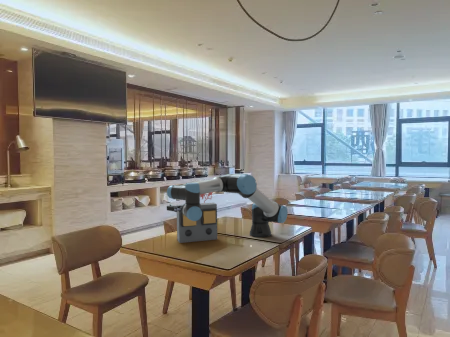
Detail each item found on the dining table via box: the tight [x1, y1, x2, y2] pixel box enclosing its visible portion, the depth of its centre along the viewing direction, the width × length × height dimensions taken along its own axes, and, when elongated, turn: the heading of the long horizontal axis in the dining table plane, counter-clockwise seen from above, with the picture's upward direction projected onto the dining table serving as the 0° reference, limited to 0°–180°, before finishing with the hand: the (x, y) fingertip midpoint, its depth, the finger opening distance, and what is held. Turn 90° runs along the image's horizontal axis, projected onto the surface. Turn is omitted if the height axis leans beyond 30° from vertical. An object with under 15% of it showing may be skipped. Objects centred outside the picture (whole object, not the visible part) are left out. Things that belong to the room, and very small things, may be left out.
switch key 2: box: [203, 210, 216, 224], centre depth 232 cm, size 3×8×8 cm, turn 108°
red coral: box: [200, 192, 213, 203], centre depth 276 cm, size 15×26×35 cm, turn 166°
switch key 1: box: [183, 215, 196, 226], centre depth 225 cm, size 3×8×8 cm, turn 108°
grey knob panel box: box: [175, 202, 218, 244], centre depth 235 cm, size 10×26×24 cm, turn 108°
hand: (181, 205), depth 212 cm, fingers open, 13 cm apart
